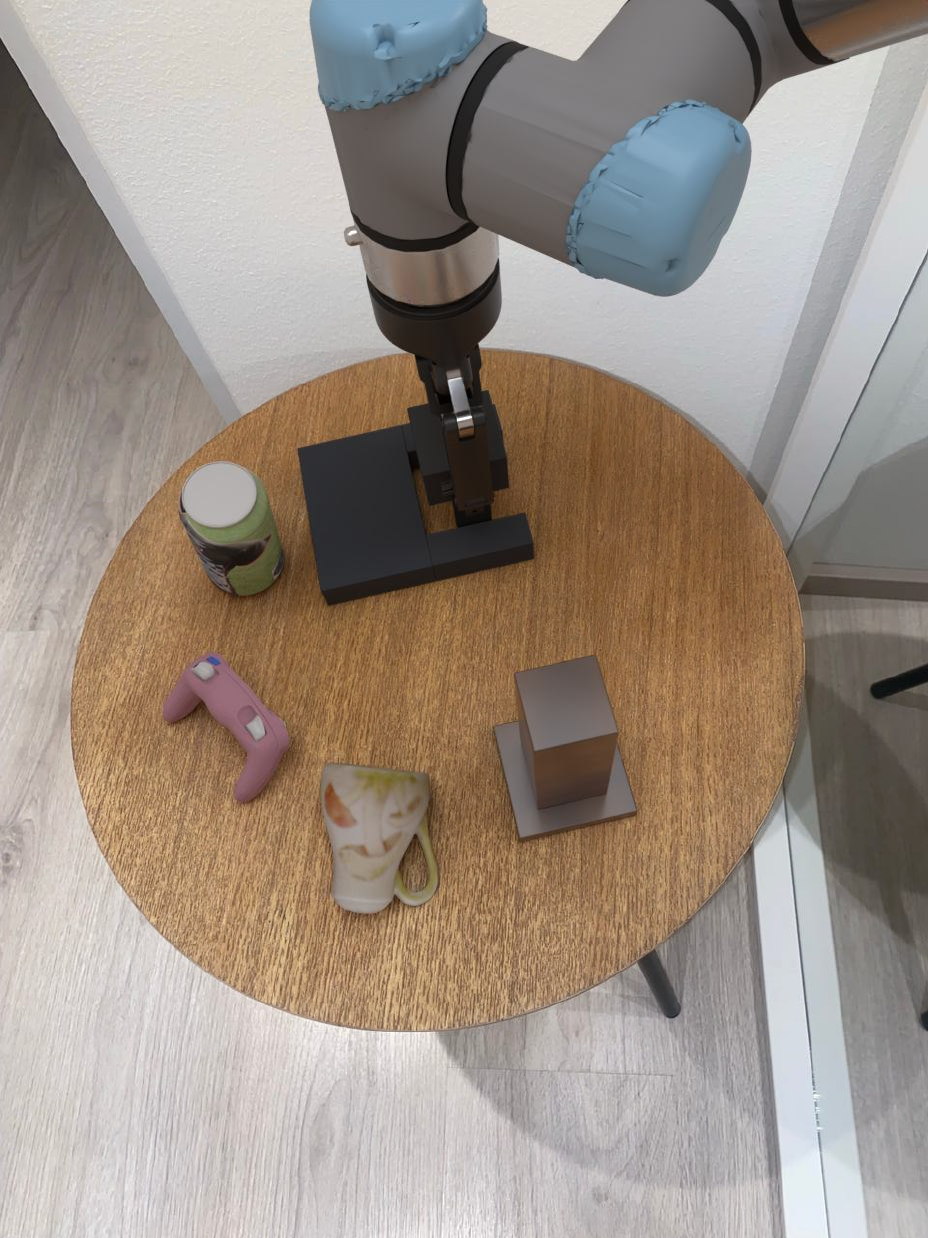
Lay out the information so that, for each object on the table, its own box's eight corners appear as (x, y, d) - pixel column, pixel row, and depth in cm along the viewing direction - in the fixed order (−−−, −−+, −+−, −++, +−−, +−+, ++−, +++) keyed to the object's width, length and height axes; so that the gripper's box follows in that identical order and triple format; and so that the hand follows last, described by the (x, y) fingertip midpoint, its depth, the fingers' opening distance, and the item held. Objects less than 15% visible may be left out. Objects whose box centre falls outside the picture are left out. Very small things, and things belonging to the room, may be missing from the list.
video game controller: (292, 780, 69) (306, 722, 65) (240, 814, 67) (250, 755, 62) (209, 690, 73) (215, 628, 68) (156, 718, 70) (159, 655, 65)
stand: (604, 704, 68) (615, 621, 56) (636, 815, 65) (656, 753, 52) (493, 730, 68) (479, 653, 55) (519, 842, 65) (511, 787, 52)
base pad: (496, 422, 79) (494, 403, 77) (534, 558, 74) (533, 542, 71) (304, 465, 79) (296, 447, 77) (327, 605, 73) (320, 591, 71)
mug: (313, 926, 64) (266, 822, 58) (372, 815, 71) (334, 713, 65) (417, 945, 61) (377, 837, 55) (467, 828, 68) (436, 722, 62)
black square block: (491, 422, 73) (488, 389, 70) (509, 488, 71) (507, 457, 67) (413, 440, 73) (406, 407, 69) (429, 506, 71) (422, 476, 67)
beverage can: (229, 524, 77) (176, 435, 66) (314, 545, 76) (274, 458, 65) (196, 593, 75) (136, 512, 64) (284, 616, 73) (237, 538, 62)
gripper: (338, 158, 58) (395, 400, 79) (395, 411, 50) (441, 605, 71) (462, 131, 58) (485, 380, 79) (538, 379, 50) (542, 582, 71)
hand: (465, 486), depth 75 cm, fingers closed on black square block, 6 cm apart
